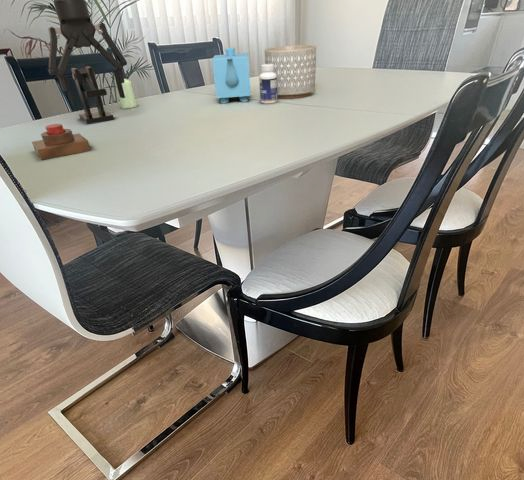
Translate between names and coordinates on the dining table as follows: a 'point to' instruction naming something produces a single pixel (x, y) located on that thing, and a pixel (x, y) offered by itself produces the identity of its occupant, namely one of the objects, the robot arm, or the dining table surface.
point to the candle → (127, 95)
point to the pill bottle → (268, 84)
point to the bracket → (88, 116)
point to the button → (54, 129)
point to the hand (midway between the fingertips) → (99, 101)
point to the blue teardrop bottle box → (231, 75)
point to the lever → (90, 85)
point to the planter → (293, 69)
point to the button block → (60, 144)
